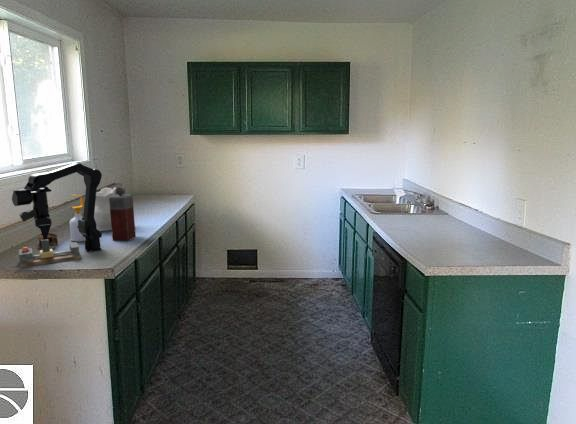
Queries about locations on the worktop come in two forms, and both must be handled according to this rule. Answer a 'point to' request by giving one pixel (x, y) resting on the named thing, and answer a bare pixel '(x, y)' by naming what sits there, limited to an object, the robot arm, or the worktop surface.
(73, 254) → the rail board
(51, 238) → the pottery mug
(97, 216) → the ceramic pitcher
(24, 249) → the orange ball
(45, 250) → the carriage
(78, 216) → the soap bottle
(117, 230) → the brown syrup bottle
